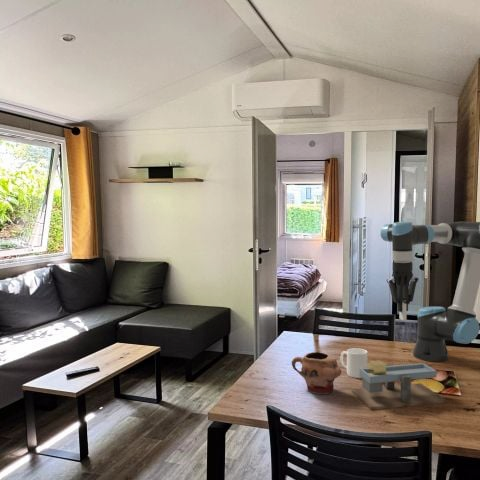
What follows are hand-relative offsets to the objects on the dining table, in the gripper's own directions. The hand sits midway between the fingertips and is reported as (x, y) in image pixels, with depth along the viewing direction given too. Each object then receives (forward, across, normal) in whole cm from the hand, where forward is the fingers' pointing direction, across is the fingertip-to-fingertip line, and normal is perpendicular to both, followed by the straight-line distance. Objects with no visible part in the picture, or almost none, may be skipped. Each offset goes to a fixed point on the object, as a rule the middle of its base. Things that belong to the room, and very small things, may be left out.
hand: (402, 319), depth 192 cm
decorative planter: (+24, +38, +1) cm, 45 cm away
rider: (+15, +19, +15) cm, 29 cm away
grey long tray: (+21, +11, +15) cm, 28 cm away
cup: (+25, +17, -11) cm, 32 cm away
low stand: (+25, +12, +15) cm, 31 cm away
